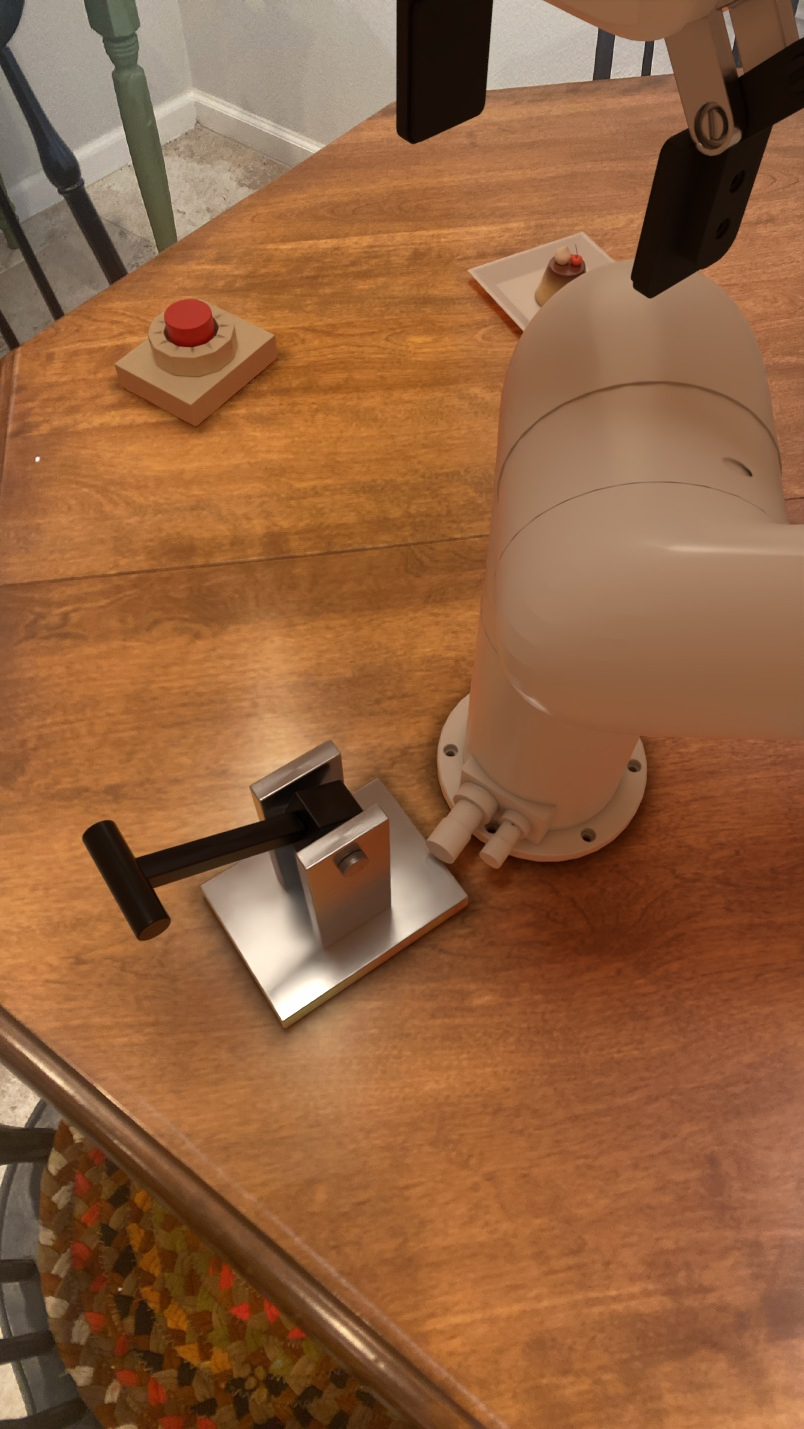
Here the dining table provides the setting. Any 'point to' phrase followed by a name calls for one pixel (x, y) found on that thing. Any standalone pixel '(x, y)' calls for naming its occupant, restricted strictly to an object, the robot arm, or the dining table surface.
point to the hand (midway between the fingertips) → (550, 195)
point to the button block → (196, 366)
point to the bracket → (330, 892)
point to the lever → (208, 852)
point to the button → (189, 323)
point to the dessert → (538, 274)
